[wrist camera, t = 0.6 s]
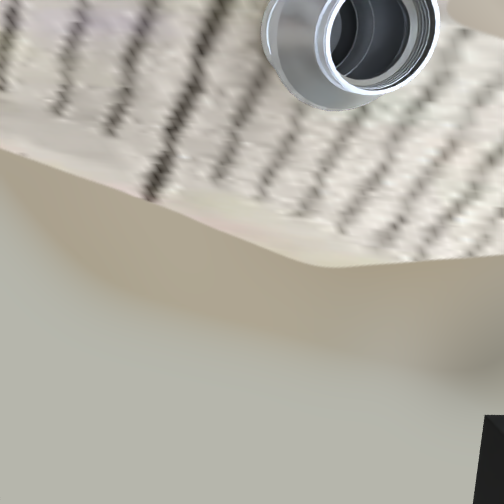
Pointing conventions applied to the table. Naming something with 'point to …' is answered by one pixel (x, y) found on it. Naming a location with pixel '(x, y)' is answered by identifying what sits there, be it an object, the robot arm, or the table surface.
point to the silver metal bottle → (348, 47)
